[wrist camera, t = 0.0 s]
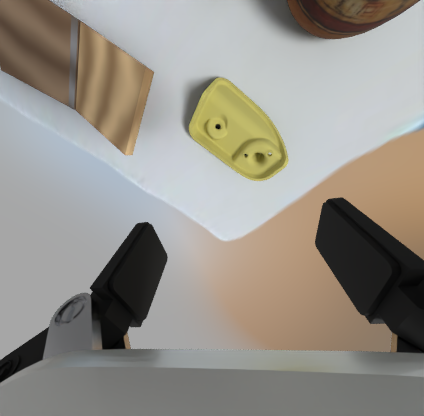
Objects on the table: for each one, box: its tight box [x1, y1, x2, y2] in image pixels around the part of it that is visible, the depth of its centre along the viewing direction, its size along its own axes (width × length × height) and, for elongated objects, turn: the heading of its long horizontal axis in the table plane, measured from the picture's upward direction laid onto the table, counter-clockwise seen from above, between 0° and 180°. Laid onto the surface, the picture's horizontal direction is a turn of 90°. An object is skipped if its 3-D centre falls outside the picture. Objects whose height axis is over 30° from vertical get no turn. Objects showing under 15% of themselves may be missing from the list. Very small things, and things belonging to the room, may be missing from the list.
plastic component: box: [189, 78, 288, 181], centre depth 33 cm, size 20×7×10 cm
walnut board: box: [0, 0, 86, 110], centre depth 28 cm, size 14×13×2 cm
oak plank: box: [76, 22, 154, 155], centre depth 28 cm, size 16×14×2 cm
